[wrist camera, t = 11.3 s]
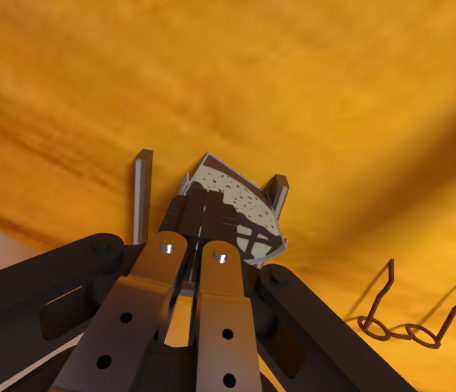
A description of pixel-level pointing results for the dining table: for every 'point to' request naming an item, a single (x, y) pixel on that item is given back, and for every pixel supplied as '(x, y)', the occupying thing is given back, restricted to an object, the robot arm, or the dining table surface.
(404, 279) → the dining table surface
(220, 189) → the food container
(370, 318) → the glasses
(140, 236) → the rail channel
